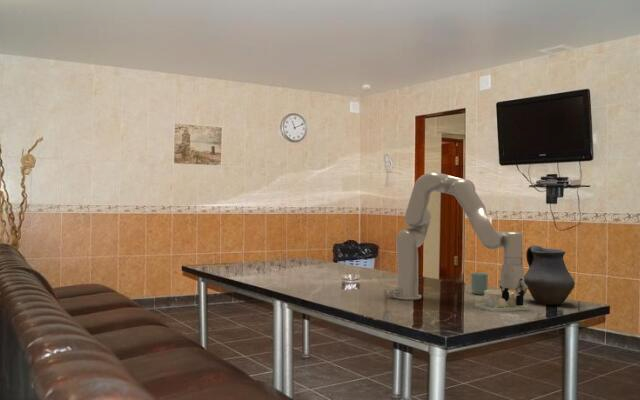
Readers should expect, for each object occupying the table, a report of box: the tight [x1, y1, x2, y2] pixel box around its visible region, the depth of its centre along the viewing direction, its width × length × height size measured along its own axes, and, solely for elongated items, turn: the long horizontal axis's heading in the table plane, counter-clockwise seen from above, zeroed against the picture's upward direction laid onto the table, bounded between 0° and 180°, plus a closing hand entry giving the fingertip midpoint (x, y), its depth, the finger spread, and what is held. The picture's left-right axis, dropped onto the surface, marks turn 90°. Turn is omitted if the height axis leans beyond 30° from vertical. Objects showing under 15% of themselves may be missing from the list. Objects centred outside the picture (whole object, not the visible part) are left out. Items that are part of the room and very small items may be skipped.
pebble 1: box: [484, 299, 495, 308], centre depth 219 cm, size 4×4×4 cm
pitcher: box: [524, 244, 576, 306], centre depth 235 cm, size 21×22×25 cm
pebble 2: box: [496, 298, 507, 308], centre depth 221 cm, size 4×4×4 cm
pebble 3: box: [507, 297, 517, 307], centre depth 223 cm, size 4×4×4 cm
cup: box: [470, 271, 489, 296], centre depth 258 cm, size 8×8×10 cm
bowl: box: [483, 289, 516, 303], centre depth 236 cm, size 12×12×4 cm
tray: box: [474, 302, 530, 313], centre depth 221 cm, size 17×12×2 cm
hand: (512, 303), depth 223 cm, fingers open, 8 cm apart
